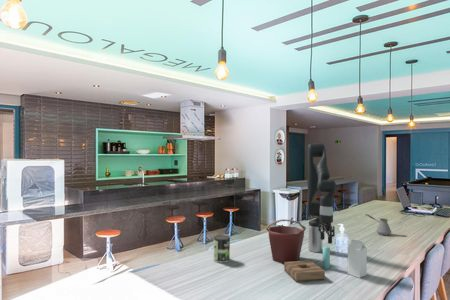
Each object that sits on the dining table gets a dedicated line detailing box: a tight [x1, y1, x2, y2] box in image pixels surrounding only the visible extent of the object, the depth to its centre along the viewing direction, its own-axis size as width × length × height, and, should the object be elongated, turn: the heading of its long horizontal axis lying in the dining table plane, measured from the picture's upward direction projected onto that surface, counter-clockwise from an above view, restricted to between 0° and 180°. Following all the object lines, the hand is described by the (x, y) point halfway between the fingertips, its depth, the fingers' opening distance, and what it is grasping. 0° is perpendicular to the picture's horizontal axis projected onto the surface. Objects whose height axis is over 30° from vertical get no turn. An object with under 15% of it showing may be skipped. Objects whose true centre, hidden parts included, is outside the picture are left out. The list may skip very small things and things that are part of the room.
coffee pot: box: [365, 213, 392, 237], centre depth 263 cm, size 21×12×15 cm, turn 42°
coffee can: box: [213, 234, 231, 264], centre depth 193 cm, size 10×10×14 cm
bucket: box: [265, 218, 307, 265], centre depth 195 cm, size 24×22×25 cm
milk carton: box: [347, 238, 368, 279], centre depth 171 cm, size 7×7×19 cm
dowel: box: [322, 246, 331, 270], centre depth 180 cm, size 4×4×12 cm
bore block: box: [283, 260, 326, 283], centre depth 169 cm, size 16×16×5 cm
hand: (326, 241), depth 181 cm, fingers open, 8 cm apart
